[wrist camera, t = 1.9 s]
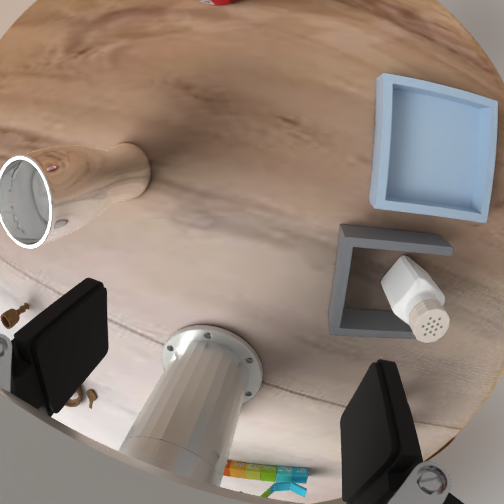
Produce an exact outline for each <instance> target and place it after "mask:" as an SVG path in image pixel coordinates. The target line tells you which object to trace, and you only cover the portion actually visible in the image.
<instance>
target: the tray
mask: <svg viewBox="0 0 504 504" xmlns="http://www.w3.org/2000/svg"><path fill="white" fill-rule="evenodd" d="M497 123H498V101H495V100H492V99H489V98H486V97H483V96H480V95H477V94H473V93H470V92H467V91H463V90H460V89H456V88H452V87H448V86H444V85H440V84H436V83H432V82H428V81H423V80H419V79H414V78H409V77H404V76H398V75H393V74H387V73H383V74H381V75H380V76H379V77H378V78H377V79H376V105H375V129H374V146H373V160H372V172H371V183H370V193H369V203H370V204H371V205H372V206H373V207H374V208H375V209H383V210H392V211H400V212H409V213H417V214H425V215H432V216H440V217H447V218H454V219H461V220H468V221H475V222H481V223H486V222H487V217H488V211H489V205H490V199H491V192H492V184H493V176H494V167H495V157H496V143H497Z"/></svg>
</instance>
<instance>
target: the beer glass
mask: <svg viewBox="0 0 504 504" xmlns="http://www.w3.org/2000/svg"><path fill="white" fill-rule="evenodd" d="M150 177H151V167H150V163H149V160H148V158H147V156H146V154H145V153H144V151H143V150H142V149H141V148H139V147H138V146H136V145H134V144H130V143H120V144H117V145H115V146H112V147H110V148H108V149H98V148H93V147H87V146H80V145H60V146H52V147H47V148H42V149H38V150H35V151H31V152H28V153H25V154H21V155H16V156H13V157H11V158H10V159H9V160H8V161H7V162H6V163H5V164H4V165H3V167H2V169H1V171H0V220H1V223H2V225H3V227H4V229H5V231H6V232H7V234H8V235H9V237H10V238H11V239H12V240H13V241H14V242H15V243H16V244H18V245H19V246H21V247H24V248H27V249H34V248H37V247H39V246H41V245H43V244H46V243H48V242H51V241H54V240H57V239H59V238H62V237H64V236H66V235H68V234H71V233H73V232H75V231H77V230H79V229H80V228H82V227H84V226H86V225H87V224H89V223H90V222H91V221H93V220H94V219H95V218H97V217H98V216H99V215H100V214H102V213H103V212H104V211H105V210H106V209H107V208H109V207H110V206H111V205H112V204H114V203H115V202H117V201H128V200H132V199H135V198H137V197H139V196H140V195H141V194H142V193H143V192H144V191H145V190H146V188H147V186H148V184H149V181H150Z"/></svg>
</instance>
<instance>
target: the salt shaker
mask: <svg viewBox="0 0 504 504" xmlns="http://www.w3.org/2000/svg"><path fill="white" fill-rule="evenodd" d="M381 285H382V288H383V290H384V292H385V294H386V297H387V299H388V301H389V304H390V306H391V308H392V310H393V312H394V314H395V315H397V316H398V317H399V318H400V319H402V320H403V321H404V322H406V323H407V324H408V325H410V327H411V329H412V332H413V334H414V335H415V337H416V338H417V340H418V341H420V342H424V343H430V342H435V341H437V340H438V339H440V338H441V337H442V336H444V334H445V333H446V331H447V329H448V328H449V322H450V317H449V316H448V314H447V312H446V310H445V309H444V307H443V305H444V302H445V296H444V294H443V293H442V292H441V290H440V289H439V288H438V286H437V285H436V284H435V282H434V281H433V280H432V278H431V277H430V276H429V274H428V273H427V272H426V271H425V270H424V269H423V268H421V267H420V266H419V265H418V264H417V263H415V262H414V261H413V260H412V259H411V258H409V257H408V256H405V255H402V256H400V257H399V259H398V260H397V261H396V262H395V264H394V265H393V266H392V267H391V268H390V270H389V271H388V272H387V273H386V275H385V276H384V277H383V278H382V280H381Z"/></svg>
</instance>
